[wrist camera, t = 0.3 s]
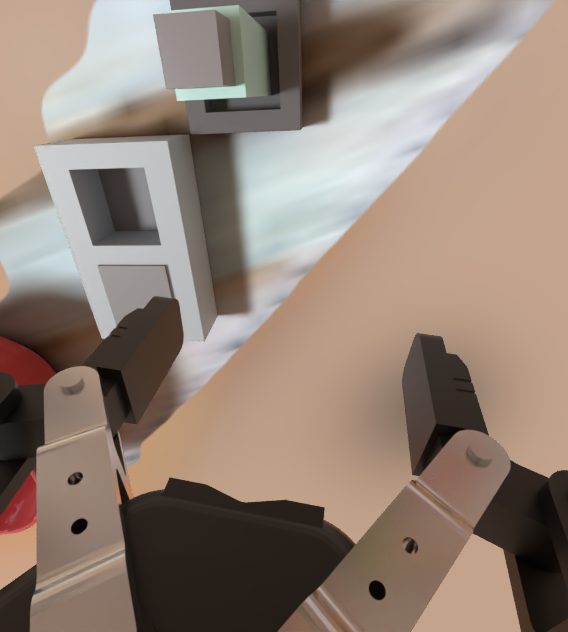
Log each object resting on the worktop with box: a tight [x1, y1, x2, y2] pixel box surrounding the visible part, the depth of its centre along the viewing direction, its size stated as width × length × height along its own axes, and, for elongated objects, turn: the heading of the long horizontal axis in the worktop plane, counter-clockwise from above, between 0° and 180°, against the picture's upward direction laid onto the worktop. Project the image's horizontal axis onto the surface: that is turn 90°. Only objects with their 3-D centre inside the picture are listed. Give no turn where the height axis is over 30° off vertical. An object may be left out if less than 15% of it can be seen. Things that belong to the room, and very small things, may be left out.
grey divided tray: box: [34, 134, 218, 341], centre depth 39 cm, size 20×12×6 cm, turn 3°
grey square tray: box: [170, 0, 303, 134], centre depth 31 cm, size 10×10×3 cm
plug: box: [153, 5, 271, 101], centre depth 25 cm, size 4×4×14 cm
